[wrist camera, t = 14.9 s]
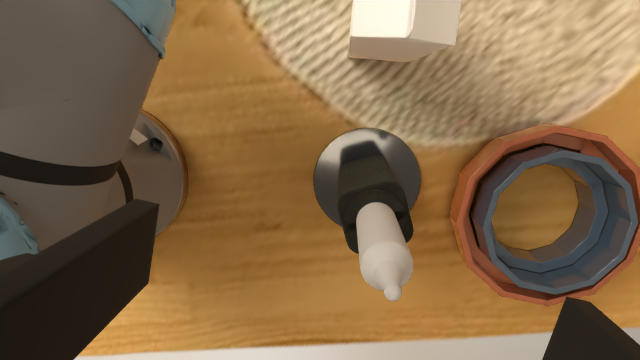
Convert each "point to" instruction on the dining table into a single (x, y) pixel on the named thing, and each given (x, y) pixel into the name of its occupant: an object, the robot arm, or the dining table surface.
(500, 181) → the stacked bowls
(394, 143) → the slate coaster
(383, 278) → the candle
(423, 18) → the milk
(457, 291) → the dining table surface
